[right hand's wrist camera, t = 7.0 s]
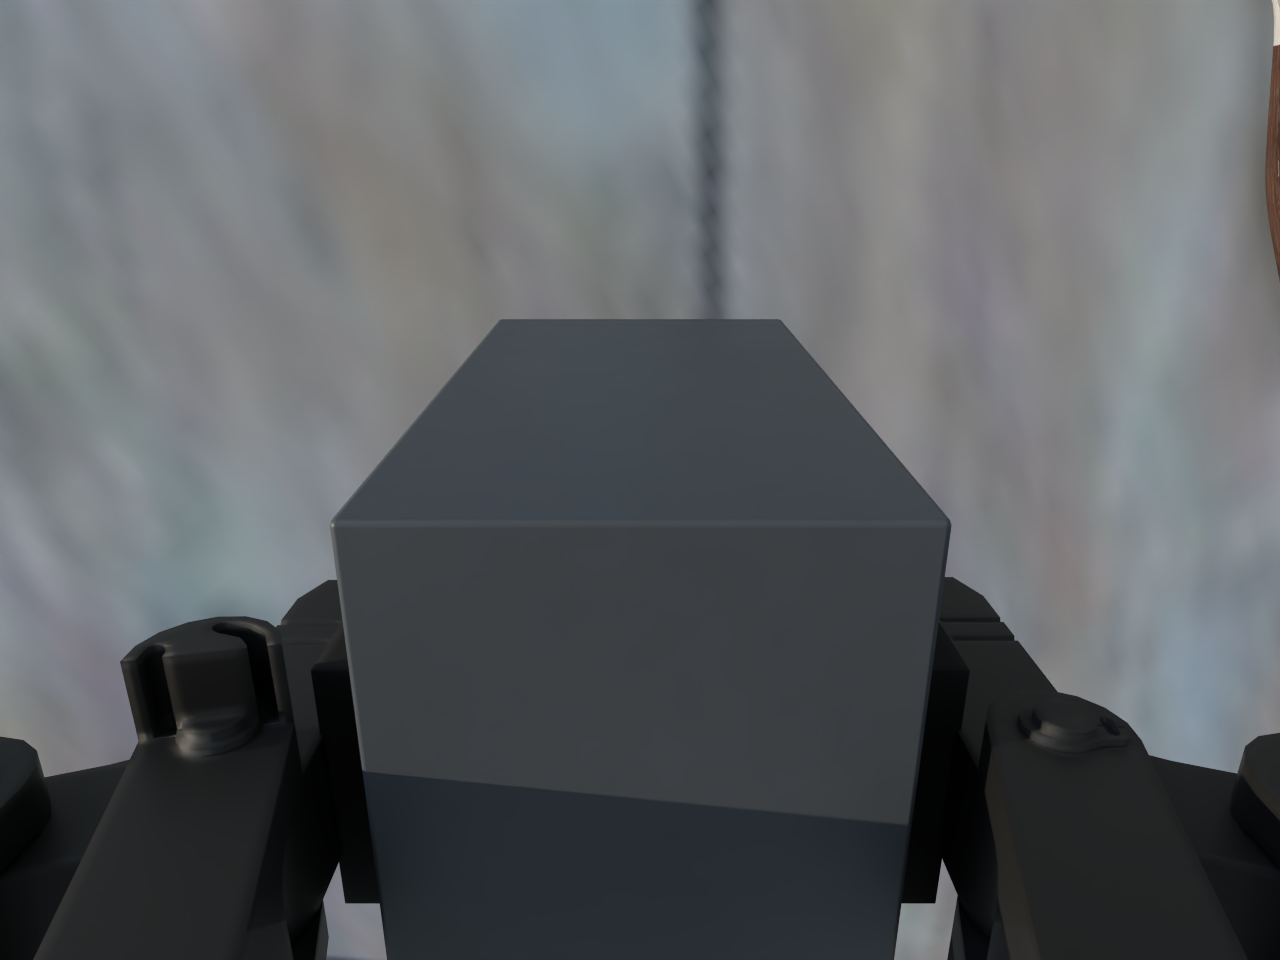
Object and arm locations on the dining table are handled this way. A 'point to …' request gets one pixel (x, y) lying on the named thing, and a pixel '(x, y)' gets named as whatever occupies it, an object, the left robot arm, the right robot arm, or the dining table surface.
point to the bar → (640, 652)
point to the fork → (1274, 142)
